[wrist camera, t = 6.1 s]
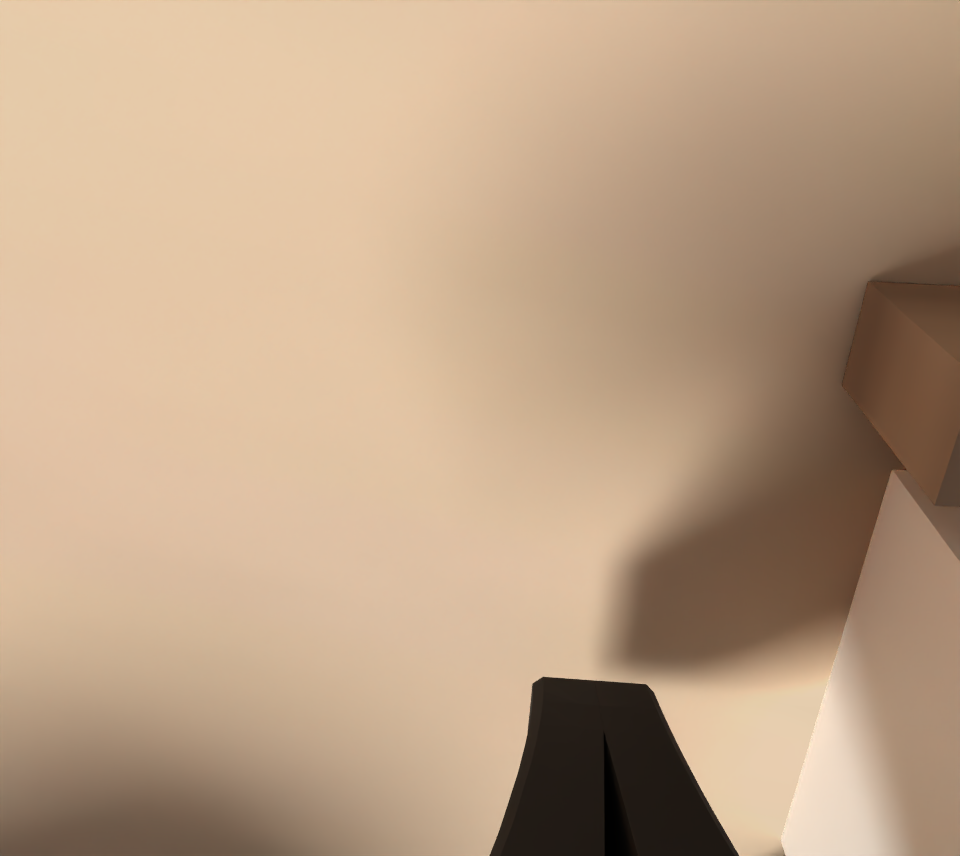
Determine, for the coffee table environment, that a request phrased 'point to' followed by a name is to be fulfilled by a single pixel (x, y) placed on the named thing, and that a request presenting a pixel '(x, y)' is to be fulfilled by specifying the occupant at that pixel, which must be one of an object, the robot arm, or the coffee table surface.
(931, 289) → the display stand
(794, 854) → the carton
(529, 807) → the robot arm
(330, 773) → the coffee table surface
